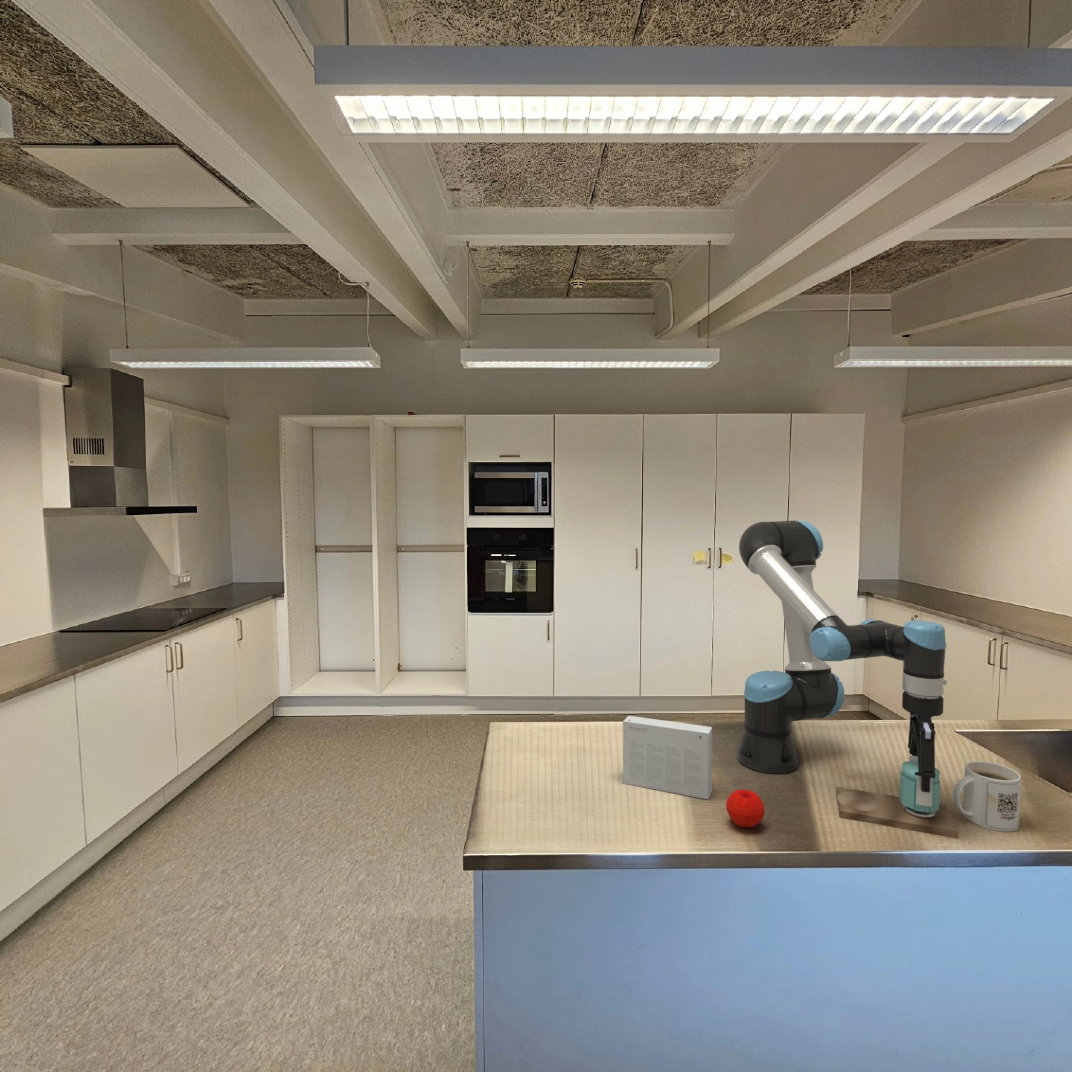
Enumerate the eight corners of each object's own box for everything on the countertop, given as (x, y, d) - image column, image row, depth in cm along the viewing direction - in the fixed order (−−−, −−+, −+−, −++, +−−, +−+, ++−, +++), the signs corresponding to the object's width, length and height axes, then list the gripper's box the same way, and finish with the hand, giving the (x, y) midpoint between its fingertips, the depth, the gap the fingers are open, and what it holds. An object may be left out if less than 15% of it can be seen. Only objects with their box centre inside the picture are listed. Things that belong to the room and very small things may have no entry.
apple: (743, 838, 126) (743, 804, 126) (717, 820, 133) (717, 787, 133) (772, 829, 129) (773, 796, 129) (745, 812, 137) (746, 780, 136)
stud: (905, 815, 131) (906, 780, 131) (901, 802, 137) (902, 769, 136) (938, 821, 129) (939, 785, 129) (932, 807, 135) (933, 773, 134)
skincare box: (712, 790, 147) (713, 726, 146) (709, 800, 142) (709, 734, 141) (628, 774, 156) (628, 714, 155) (622, 783, 151) (621, 721, 150)
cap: (902, 808, 131) (904, 772, 131) (898, 793, 138) (899, 758, 137) (941, 814, 128) (943, 778, 128) (934, 799, 135) (936, 764, 134)
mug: (1022, 838, 125) (1025, 786, 124) (952, 822, 131) (953, 773, 131) (1015, 815, 134) (1017, 766, 133) (949, 801, 140) (951, 755, 139)
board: (838, 817, 134) (838, 810, 134) (835, 792, 145) (835, 786, 145) (958, 838, 125) (958, 831, 125) (945, 810, 136) (945, 803, 136)
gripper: (955, 712, 120) (951, 822, 121) (933, 681, 140) (930, 776, 141) (911, 707, 123) (908, 815, 124) (895, 677, 143) (892, 770, 144)
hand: (919, 794), depth 133 cm, fingers open, 9 cm apart
